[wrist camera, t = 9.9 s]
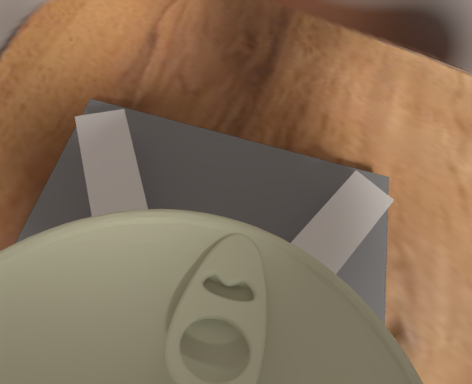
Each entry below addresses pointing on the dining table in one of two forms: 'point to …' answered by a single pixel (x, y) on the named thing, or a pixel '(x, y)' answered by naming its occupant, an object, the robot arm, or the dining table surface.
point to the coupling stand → (221, 189)
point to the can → (183, 308)
